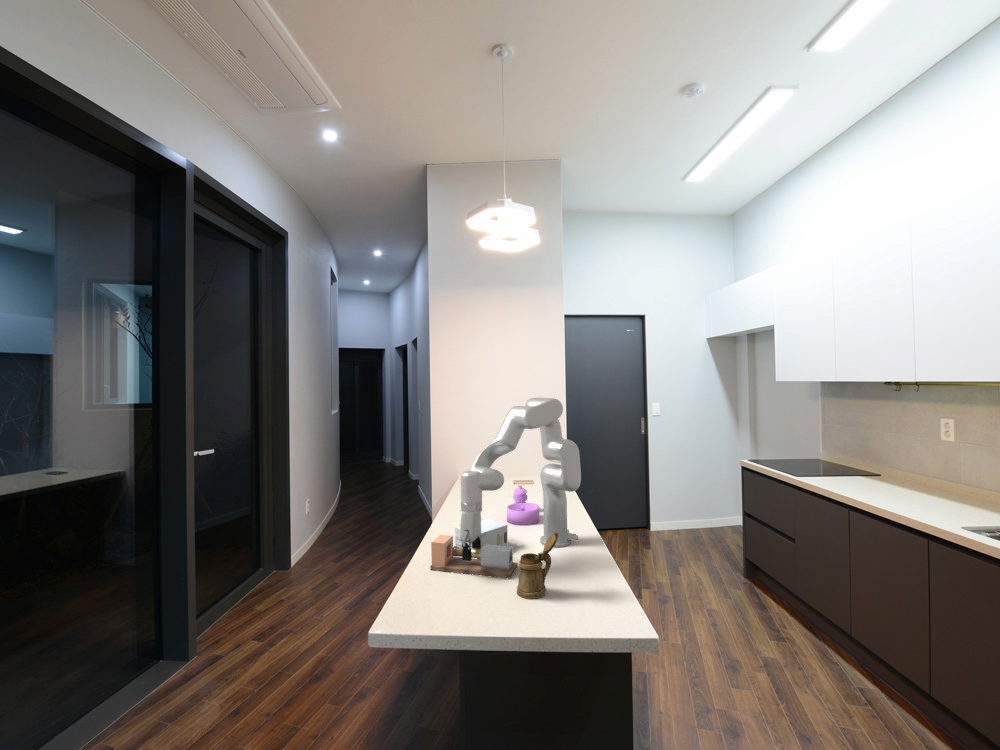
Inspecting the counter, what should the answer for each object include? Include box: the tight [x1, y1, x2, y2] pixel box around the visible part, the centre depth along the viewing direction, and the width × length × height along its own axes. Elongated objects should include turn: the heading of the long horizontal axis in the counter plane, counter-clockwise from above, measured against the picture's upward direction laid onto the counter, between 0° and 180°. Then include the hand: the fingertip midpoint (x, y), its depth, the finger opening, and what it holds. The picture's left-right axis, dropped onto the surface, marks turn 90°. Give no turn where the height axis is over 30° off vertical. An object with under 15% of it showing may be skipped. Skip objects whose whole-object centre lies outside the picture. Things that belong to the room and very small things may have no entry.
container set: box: [506, 484, 541, 527], centre depth 224 cm, size 25×15×13 cm, turn 3°
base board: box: [430, 556, 518, 580], centre depth 164 cm, size 29×10×2 cm, turn 74°
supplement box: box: [454, 517, 509, 549], centre depth 184 cm, size 17×13×9 cm
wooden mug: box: [516, 533, 558, 600], centre depth 146 cm, size 9×14×18 cm, turn 98°
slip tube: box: [452, 545, 511, 561], centre depth 164 cm, size 20×3×3 cm, turn 74°
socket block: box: [430, 534, 454, 566], centre depth 168 cm, size 5×8×8 cm, turn 164°
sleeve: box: [481, 544, 514, 571], centre depth 162 cm, size 10×5×6 cm, turn 74°
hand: (471, 555), depth 164 cm, fingers open, 9 cm apart
